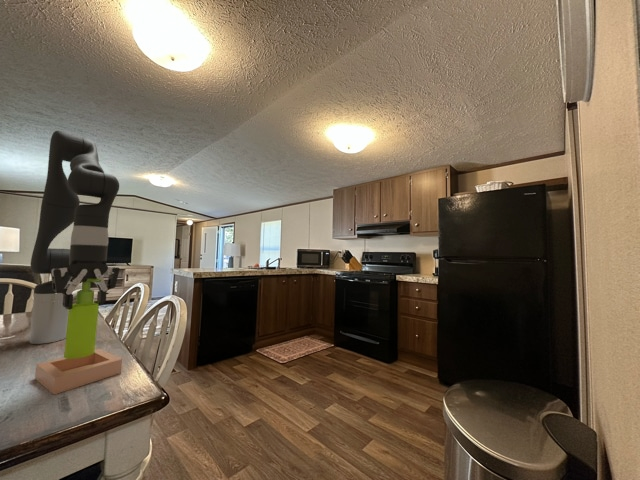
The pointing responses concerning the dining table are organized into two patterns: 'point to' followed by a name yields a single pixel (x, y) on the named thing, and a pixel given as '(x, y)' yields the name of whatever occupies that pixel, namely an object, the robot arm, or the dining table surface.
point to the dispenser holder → (77, 371)
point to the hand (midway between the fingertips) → (84, 306)
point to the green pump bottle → (82, 324)
